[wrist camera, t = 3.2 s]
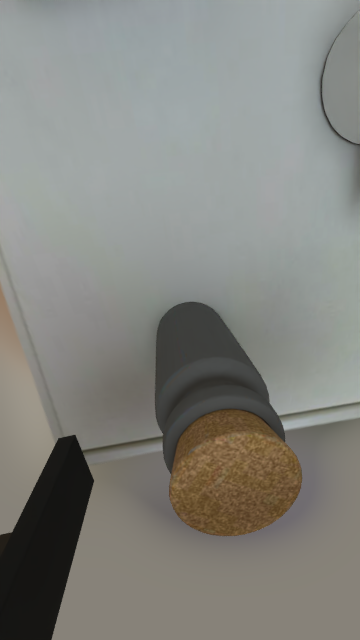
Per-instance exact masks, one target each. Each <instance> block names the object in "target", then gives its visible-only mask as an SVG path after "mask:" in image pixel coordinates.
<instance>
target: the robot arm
mask: <svg viewBox="0 0 360 640" xmlns="http://www.w3.org/2000/svg"><path fill="white" fill-rule="evenodd" d="M93 483H94V479H93V477H92V475H91V472H90V470H89V467H88V465H87V462H86V460H85V457H84V455H83V452H82V450H81V448H80V445H79V443H78V440H77V438H76V435H72V436H67V437H63V438H58V440H57V443H56V445H55V447H54V449H53V451H52V453H51V455H50V457H49V459H48V461H47V463H46V465H45V467H44V469H43V471H42V473H41V475H40V477H39V479H38V482H37V483H36V485H35V487H34V489H33V491H32V493H31V495H30V497H29V500H28V501H27V503H26V505H25V508H24V509H23V512H22V514H21V516H20V518H19V520H18V522H17V524H16V526H15V528H14V530H13V532H12V533H7V534H2V535H0V640H51V639H52V635H53V631H54V628H55V624H56V620H57V616H58V613H59V609H60V605H61V602H62V598H63V594H64V590H65V587H66V583H67V579H68V576H69V572H70V568H71V565H72V561H73V557H74V553H75V549H76V546H77V542H78V538H79V535H80V531H81V527H82V524H83V520H84V516H85V512H86V509H87V505H88V501H89V498H90V494H91V490H92V486H93Z"/></svg>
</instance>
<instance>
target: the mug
mask: <svg viewBox="0 0 360 640" xmlns="http://www.w3.org/2000/svg"><path fill="white" fill-rule="evenodd" d="M322 98H323V103H324V108H325V113H326V115H327V117H328V119H329V121H330V123H331V125H332V127H333V128H334V129H335V130H336V131H337V132H338V133H339V134H340V135H341V136H342V137H344V138H345V139H347V140H349V141H351V142H353V143H357V144H360V10H359V11H358V12H357V13H356V14H355V15H354V16H353V18H352V19H351V20H350V21H349V22H348V23H347V24H346V26H345V27H344V28H343V30H342V31H341V33H340V34H339V35H338V37H337V38H336V40H335V42H334V44H333V46H332V48H331V51H330V53H329V55H328V57H327V61H326V65H325V70H324V74H323V78H322Z"/></svg>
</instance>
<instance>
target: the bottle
mask: <svg viewBox="0 0 360 640" xmlns="http://www.w3.org/2000/svg"><path fill="white" fill-rule="evenodd" d="M155 410H156V418H157V422H158V425H159V428H160V430H161V431H162V433H163V454H164V460H165V463H166V465H167V468H168V470H169V471H170V473H171V479H170V485H169V497H170V501H171V504H172V506H173V509H174V510H175V512H176V513H177V515H178V517H179V518H180V519H181V520H182V521H183V522H185V523H186V524H187V525H189V526H190V527H192V528H194V529H196V530H198V531H200V532H203V533H206V534H210V535H218V536H237V535H243V534H247V533H251V532H254V531H257V530H260V529H262V528H264V527H266V526H268V525H270V524H272V523H273V522H274V521H276V520H277V519H279V518H280V517H281V516H282V515H283V514H284V513H285V512H286V511H287V510H289V508H290V507H291V506H292V504H293V503H294V501H295V500H296V498H297V496H298V494H299V491H300V488H301V483H302V472H301V466H300V464H299V461H298V459H297V456H296V455H295V454H294V452H293V451H292V450H291V448H290V447H289V446H288V445H287V444H286V443H285V433H284V429H283V425H282V423H281V421H280V419H279V417H278V415H277V413H276V412H275V410H274V409H273V408H272V406H271V405H270V403H269V394H268V390H267V387H266V384H265V383H264V381H263V379H262V377H261V375H260V374H259V372H258V371H257V369H256V368H255V366H254V365H253V363H252V362H251V360H250V359H249V357H248V356H247V354H246V353H245V351H244V350H243V349H242V347H241V346H240V344H239V343H238V342H237V340H236V339H235V337H234V336H233V334H232V333H231V332H230V330H229V329H228V327H227V326H226V324H225V323H224V322H223V320H222V319H221V318H220V316H219V315H218V314H217V313H216V312H215V311H214V310H213V309H212V308H210V307H208V306H206V305H204V304H201V303H196V302H189V303H183V304H180V305H177V306H175V307H173V308H172V309H170V310H169V311H168V312H167V313H166V314H165V315H164V316H163V318H162V319H161V321H160V323H159V326H158V330H157V342H156V379H155Z"/></svg>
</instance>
